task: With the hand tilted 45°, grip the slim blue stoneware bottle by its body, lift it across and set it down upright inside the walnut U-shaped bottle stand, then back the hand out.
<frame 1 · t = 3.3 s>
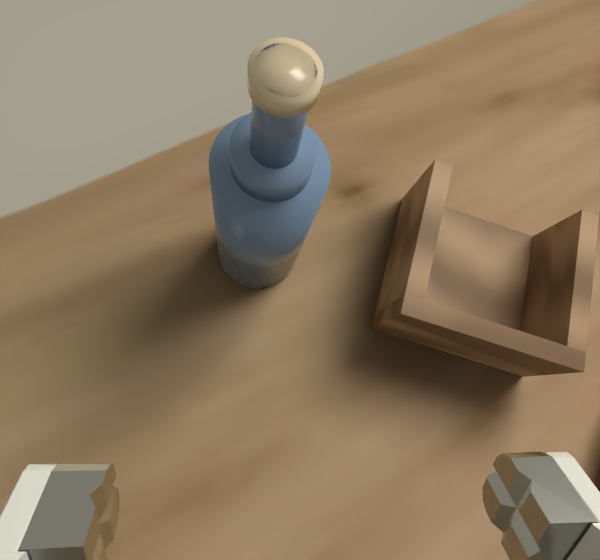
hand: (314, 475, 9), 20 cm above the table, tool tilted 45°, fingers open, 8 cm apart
bottle: (257, 250, 31), on the table
holder: (460, 284, 33), on the table
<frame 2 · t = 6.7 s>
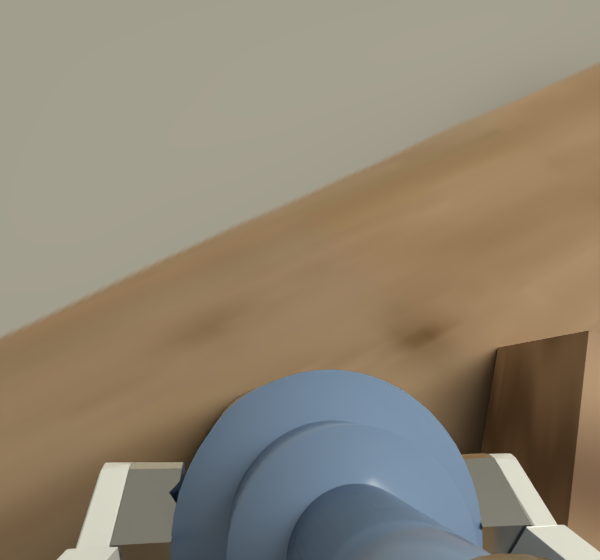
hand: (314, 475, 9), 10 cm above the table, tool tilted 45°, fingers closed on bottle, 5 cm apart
bottle: (272, 451, 19), on the table, touching gripper
holder: (593, 493, 21), on the table
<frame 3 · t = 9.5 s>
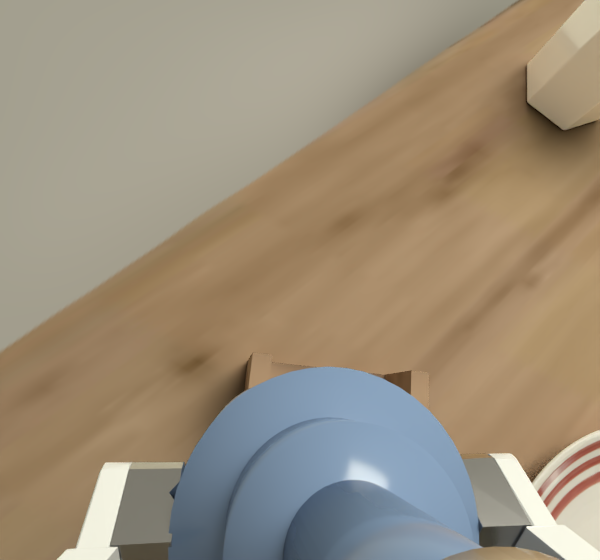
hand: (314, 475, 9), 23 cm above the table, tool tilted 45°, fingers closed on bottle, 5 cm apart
jar: (560, 94, 45), on the table
bottle: (271, 448, 19), point 13 cm above the table, touching gripper
holder: (317, 442, 32), on the table
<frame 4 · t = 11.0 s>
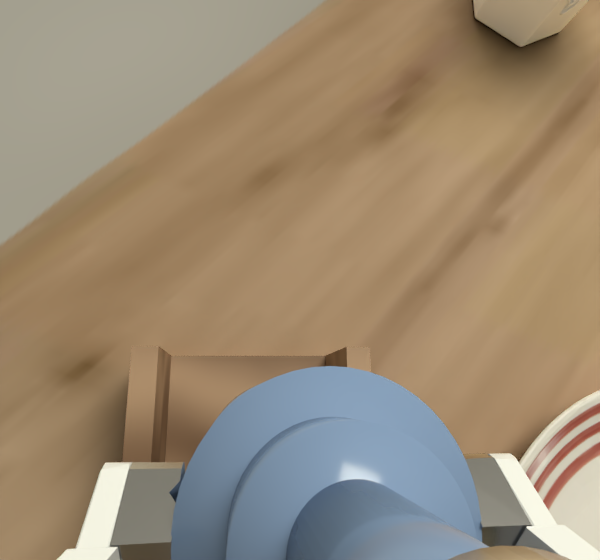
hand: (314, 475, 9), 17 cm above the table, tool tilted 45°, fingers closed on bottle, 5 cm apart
jar: (512, 6, 38), on the table
bottle: (272, 448, 19), point 7 cm above the table, touching gripper
holder: (248, 448, 26), on the table
when the fingers open (12 cm above the table, at t = 12.4 s): bottle drops 1 cm, resting on holder.
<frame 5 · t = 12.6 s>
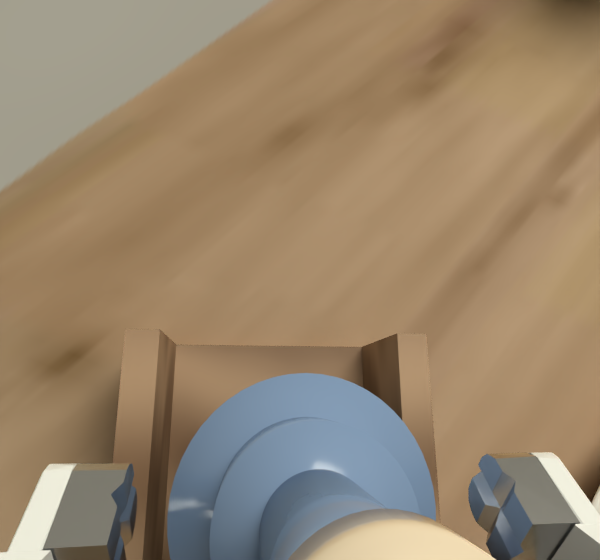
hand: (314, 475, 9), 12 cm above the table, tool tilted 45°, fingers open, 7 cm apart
bottle: (270, 445, 20), point 1 cm above the table, touching holder
holder: (269, 458, 21), on the table
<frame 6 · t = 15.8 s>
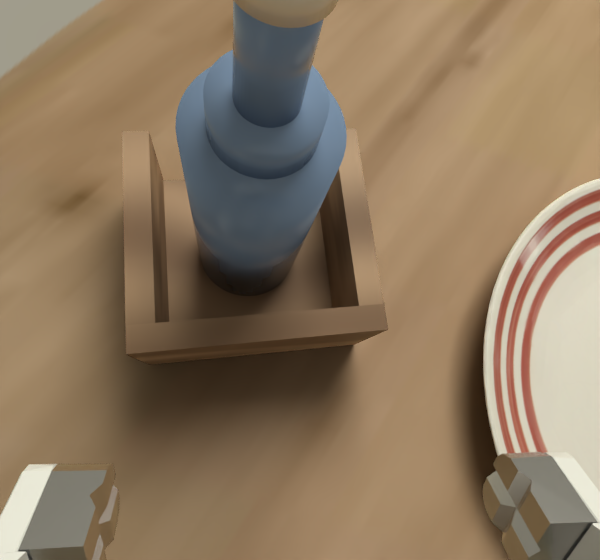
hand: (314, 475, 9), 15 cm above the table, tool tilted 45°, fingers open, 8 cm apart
bottle: (247, 250, 26), point 1 cm above the table, touching holder
holder: (248, 265, 26), on the table
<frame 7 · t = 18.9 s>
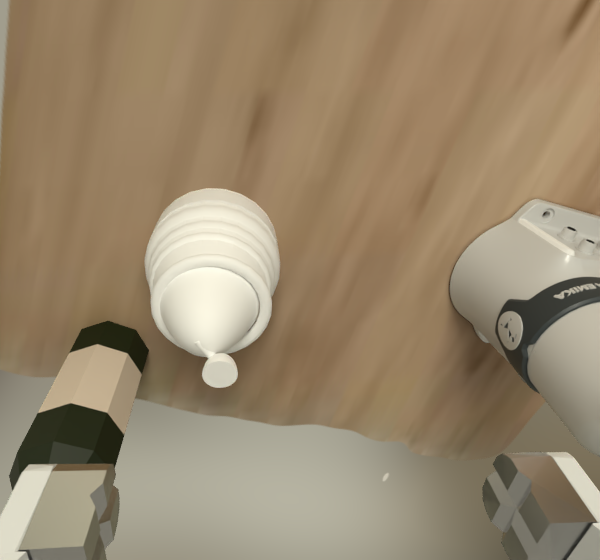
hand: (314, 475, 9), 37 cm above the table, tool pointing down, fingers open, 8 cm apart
honey pot: (216, 246, 47), on the table
wine bottle: (112, 348, 53), on the table
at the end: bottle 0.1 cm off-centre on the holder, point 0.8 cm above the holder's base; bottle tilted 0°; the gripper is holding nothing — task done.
